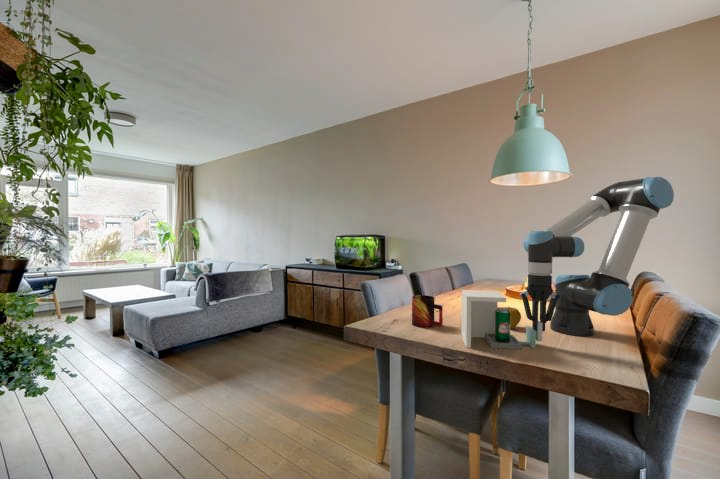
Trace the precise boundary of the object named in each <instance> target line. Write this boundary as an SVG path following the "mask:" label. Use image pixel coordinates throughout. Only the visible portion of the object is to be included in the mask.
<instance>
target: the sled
mask: <svg viewBox="0 0 720 479" xmlns="http://www.w3.org/2000/svg"><path fill="white" fill-rule="evenodd" d="M525 328H526V330H525V331H526V332H525V334H526V335H525V336H526V337H525V338H526V339H525V341H520V340H518V339H517V337H516V336H514V334H510V342H509V343H499V342H497V341H496V340H495V334H485V338H484V339H485V340H486V343H488V345H489V347H490V346H491V347H490V348H493V349H505V348H506V350H507V349H509V350H510V349H511V350H522V347H523V346H526V347H531V349H536V344H537V342H536V341H537V340H536V331H535V330H534V329H533V328H532V327H531V326H530V325H526V326H525Z"/></svg>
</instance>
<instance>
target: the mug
mask: <svg viewBox="0 0 720 479" xmlns="http://www.w3.org/2000/svg"><path fill="white" fill-rule="evenodd" d="M411 305H412V306H411V324H412V326H414V327H416V328H422V329H424V328H425V329H428V328H433V327H434V326H436V327H440V328H442V327H443V321H444V319H443V305H441V304H435V297H434V296H432V295H428V294H427V295H426V294H425V295H424V294H422V295H421V294H418V295H413V296H412V297H411ZM435 309H436V310H438V316H439V317H438V321H436V320H435Z"/></svg>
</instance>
